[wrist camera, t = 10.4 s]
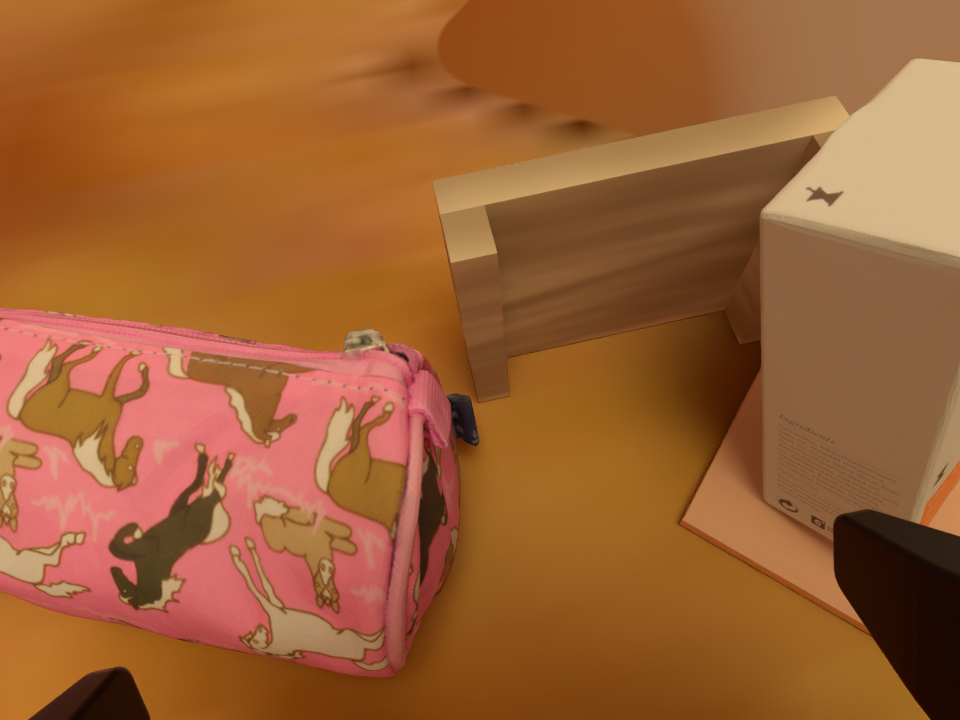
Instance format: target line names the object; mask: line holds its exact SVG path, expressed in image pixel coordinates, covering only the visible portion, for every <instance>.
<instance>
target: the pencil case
mask: <svg viewBox="0 0 960 720" xmlns="http://www.w3.org/2000/svg"><path fill="white" fill-rule="evenodd" d="M344 347H345V349H344V350H342V351H339V352H330V351H313V350H306V349H300V348H296V347H289V346H286V345H283V344H264V343H260V342H257V341H254V340H245V339H239V338H233V337H227V336H223V335H218V334H214V333H210V332H203V331H198V330H194V329H187V328H178V327H172V326H163V325H154V324H149V323H140V322H131V321H125V320H113V319H106V318H91V317H87V316H82V315H73V314H68V313H62V312H48V311H40V310H27V309H10V308H0V591H2V592H5V593H7V594H10V595H13V596H15V597H18V598H20V599H23V600H25V601H28V602H30V603H32V604H35V605H37V606H40V607H43V608H46V609H49V610H52V611H55V612H59V613H63V614H66V615H71V616H76V617H82V618H87V619H93V620H99V621H105V622H111V623H117V624H122V625H127V626H132V627H137V628H140V629H144V630H148V631H151V632H155V633H159V634H162V635H164V636H167V637H170V638H174V639H178V640H182V641H186V642H192V643H199V644H205V645H209V646H214V647H219V648H224V649H229V650H234V651H239V652H244V653H250V654H255V655H261V656H266V657H271V658H276V659H280V660H285V661H289V662H294V663H298V664H303V665H308V666H312V667H317V668H321V669H326V670H330V671H334V672H338V673H343V674H348V675H354V676H368V677H377V678H387V677H392V676H394V675H396V674H397V672H398V671H399V670H400V668H402V667H403V666H404V665H405V663H406V657H407V655H408V652H409V650H410V647H411V645H412V642H413V639H414V635H415V633H416V631H417V630H418V628H419V627H420V622H421V617H422V616H423V614H424V613H425V611H426V610H427V608H428V607H429V606H430V605H431V603H432V602H433V601H434V600H435V599H436V597H437V596H438V594H439V593H440V591H441V589H442V587H443V585H444V583H445V581H446V579H447V577H448V574H449V572H450V569H451V566H452V563H453V560H454V556H455V550H456V545H457V539H458V531H459V520H460V470H459V463H458V456H457V452H456V438H462V439H463V440H464V441H465V442H467V443H469V444H471V445H474V446H477V445H478V444H479V436H478V432H477V427H476V422H475V417H474V412H473V407H472V402H471V399H470V397H469V396H466V395H460V394H451V395H448V396H446V395H445V394H444V392H443V390H442V388H441V384H440V381H439V378H438V376H437V373H436V372H435V370H434V369H433V367H432V366H431V364H430V363H429V361H428V360H427V359H426V358H425V357H424V356H423V355H422V354H421V353H420V352H418V351H417V350H415V349H413V348H411V347H410V346H407V345H405V344H400V343H393V344H386V343H385V341H384V339H383V337H382V336H381V335H380V333H379V332H378V331H377V330H375V329H373V328H370V329H363V330H355V331H352V332H350V333H349V335H348V336H346V337H345V339H344Z"/></svg>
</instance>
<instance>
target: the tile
mask: <svg viewBox="0 0 960 720" xmlns="http://www.w3.org/2000/svg"><path fill="white" fill-rule="evenodd" d="M679 524H680V525H681V526H683V527H685V528H687V529H688V530H690V531H692V532H693V533H695V534H697V535H699V536H700V537H702V538H704V539H706V540H707V541H709V542H711V543H712V544H714V545H716V546H718V547H719V548H721V549H723V550H724V551H726V552H728V553H730V554H731V555H733V556H735V557H737V558H738V559H740V560H742V561H743V562H745V563H747V564H749V565H750V566H752V567H754V568H755V569H757V570H759V571H761V572H762V573H764V574H766V575H767V576H769V577H771V578H773V579H774V580H776V581H778V582H780V583H781V584H783V585H785V586H786V587H788V588H790V589H792V590H793V591H795V592H797V593H798V594H800V595H802V596H804V597H805V598H807V599H809V600H811V601H812V602H814V603H816V604H817V605H819V606H821V607H823V608H824V609H826V610H828V611H829V612H831V613H833V614H835V615H836V616H838V617H840V618H842V619H843V620H845V621H847V622H848V623H850V624H852V625H854V626H855V627H857V628H859V629H860V630H862V631H864V632H866V633H867V634H869V635H871V634H870V633H869V631H868V630H867V628H866V627H865V625H864V624H863V622H862V621H861V619H860V618H859V616H858V615H857V613H856V612H855V610H854V609H853V607H852V606H851V605H850V603H849V602H848V600H847V599H846V597H845V596H844V594H843V593H842V591H841V589H840V588H839V585H838V583H837V581H836V578H835V574H834V561H833V541H832V540H830V539H829V538H827V537H825V536H823V535H822V534H820V533H818V532H817V531H815V530H813V529H812V528H810V527H808V526H806V525H805V524H803V523H801V522H799V521H798V520H796V519H794V518H792V517H791V516H789V515H787V514H786V513H784V512H782V511H781V510H779V509H777V508H775V507H774V506H772V505H770V504H769V503H767V502H766V501H765V500H764V499H763V467H762V371H761V367H760V368H759V370H758V372H757V374H756V376H755V378H754V380H753V382H752V384H751V386H750V388H749V390H748V392H747V394H746V396H745V397H744V399H743V401H742V403H741V405H740V407H739V409H738V411H737V413H736V415H735V417H734V419H733V421H732V423H731V425H730V426H729V428H728V430H727V432H726V434H725V436H724V438H723V440H722V442H721V444H720V446H719V448H718V450H717V452H716V454H715V455H714V457H713V459H712V461H711V463H710V465H709V467H708V469H707V471H706V473H705V475H704V477H703V479H702V481H701V483H700V484H699V486H698V488H697V490H696V492H695V494H694V496H693V498H692V500H691V502H690V504H689V506H688V508H687V510H686V512H685V513H684V515H683V517H682V519H681V521H680V523H679ZM928 527H931V528H934V529H938V530H941V531H944V532H948V533H951V534H954V535H957V536H960V481H959V483H958V484H957V485H956V487H955V488H954V489H953V491H952V492H951V493H950V495H949V496H948V498H947V499H946V501H945V502H944V503H943V505H942V506H941V508H940V509H939V511H938V512H937V514H936V515H935V517H934V519H933V520H932V522H931V523H930V525H929V526H928Z"/></svg>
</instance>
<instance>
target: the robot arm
mask: <svg viewBox="0 0 960 720" xmlns="http://www.w3.org/2000/svg"><path fill="white" fill-rule="evenodd" d="M833 561H834V574H835V578H836V581H837V583H838V585H839V588H840V589H841V591H842V593H843V594H844V596H845V597H846V599H847V600H848V602H849V603H850V605H851V606H852V607H853V609H854V610H855V612H856V613H857V615H858V616H859V618H860V619H861V621H862V622H863V624H864V625H865V627H866V628H867V630H868V631H869V633H870V634H871V636H872V637H873V639H874V640H875V642H876V643H877V645H878V646H879V648H880V649H881V651H882V652H883V654H884V655H885V657H886V658H887V660H888V661H889V663H890V664H891V666H892V667H893V669H894V670H895V672H896V673H897V674H898V676H899V677H900V679H901V680H902V682H903V683H904V685H905V686H906V688H907V689H908V690H909V692H910V693H911V695H912V696H913V697H914V699H915V700H916V702H917V703H918V704H919V705H920V707H921V708H922V709H923V710H924V712H925V713H926V714H927V716H928V717H929V718H930V719H931V720H960V536H957V535H954V534H951V533H948V532H944V531H941V530H938V529H934V528H931V527H928V526H925V525H921V524H918V523H915V522H911V521H908V520H905V519H901V518H898V517H895V516H892V515H888V514H885V513H882V512H878V511H875V510H871V509H863V510H858V511H853V512H849V513H844V514H840V515H838V516H837V517H836V518H835V520H834V523H833ZM28 720H150V716H149V713H148V711H147V708H146V706H145V704H144V701H143V699H142V697H141V695H140V692H139V690H138V688H137V685H136V683H135V681H134V679H133V676H132V674H131V673H130V671H129V670H128V669H126V668H125V667H114V668H109V669H104V670H99V671H95V672H91V673H89V674H87V675H85V676H84V677H83V678H81V679H80V680H79V681H77V682H76V683H75V684H74V685H72V686H71V687H70V688H68V689H67V690H66V691H65V692H63V693H62V694H61V695H59V696H58V697H57V698H56V699H54V700H53V701H52V702H50V703H49V704H48V705H46V706H45V707H44V708H43V709H41V710H40V711H39V712H37V713H36V714H35V715H34V716H32V717H31V718H30V719H28Z"/></svg>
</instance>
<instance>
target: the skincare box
mask: <svg viewBox="0 0 960 720" xmlns="http://www.w3.org/2000/svg"><path fill="white" fill-rule="evenodd" d="M760 303H761V371H762V467H763V499H764V500H765V501H766V502H767V503H769V504H770V505H772V506H774V507H775V508H777V509H779V510H781V511H782V512H784V513H786V514H787V515H789V516H791V517H792V518H794V519H796V520H798V521H799V522H801V523H803V524H805V525H806V526H808V527H810V528H812V529H813V530H815V531H817V532H818V533H820V534H822V535H823V536H825V537H827V538H829V539H830V540H832V541H833V523H834V520H835V518H836V517H837V516H838V515H840V514H844V513H849V512H853V511H858V510H863V509H871V510H875V511H878V512H882V513H885V514H888V515H892V516H895V517H898V518H901V519H905V520H908V521H911V522H915V523H918V524H921V525H925V526H929V525H930V523H931V522H932V520H933V519H934V517H935V515H936V514H937V512H938V511H939V509H940V508H941V506H942V505H943V503H944V502H945V501H946V499H947V498H948V496H949V495H950V493H951V492H952V491H953V489H954V488H955V487H956V485H957V484H958V483H959V481H960V63H959V62H949V61H939V60H928V59H913V60H911V61H910V62H909V63H907V64H906V65H905V66H904V67H903V68H902V69H901V70H900V71H899V72H898V73H897V74H896V75H895V76H894V77H893V78H892V79H891V80H890V81H889V82H888V83H887V84H886V85H885V86H884V87H883V88H882V89H881V90H880V91H879V92H878V93H877V94H876V95H875V96H874V97H873V98H872V99H871V100H870V101H869V102H868V103H867V104H866V105H865V106H864V107H862V108H860V109H859V110H857V111H856V112H855V113H853V114H852V115H851V116H850V117H849V118H848V119H846V120H845V121H844V122H843V123H842V125H840V126H839V127H838V128H837V129H836V130H835V131H834V132H833V133H832V134H831V135H830V136H829V138H828V139H827V140H826V142H825V144H824V145H823V146H822V148H821V149H820V150H819V151H818V152H817V154H816V155H815V156H814V157H813V158H812V159H811V160H810V161H809V162H808V163H807V164H806V165H805V166H804V167H803V168H802V169H801V170H800V171H799V173H798V174H797V175H796V176H795V177H794V178H793V179H792V180H791V181H790V182H789V183H788V184H787V185H786V186H785V187H784V188H783V189H782V190H781V191H780V192H779V193H778V194H777V195H776V196H775V197H774V198H773V199H772V200H771V201H770V202H769V203H768V204H767V205H766V206H765V207H764V208H763V209H762V211H761V214H760Z"/></svg>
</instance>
